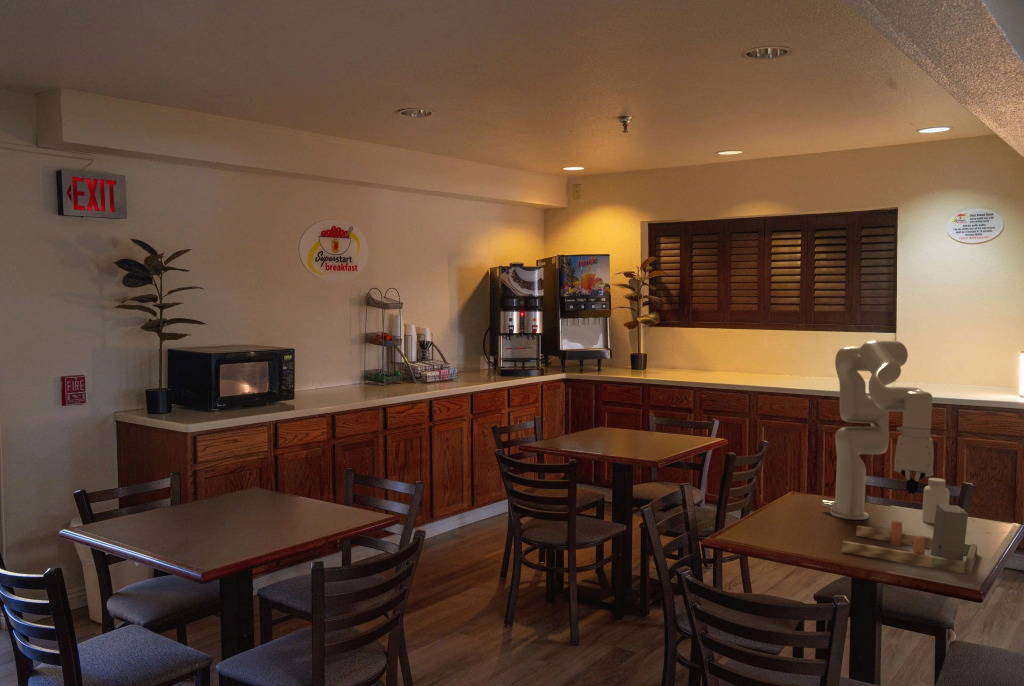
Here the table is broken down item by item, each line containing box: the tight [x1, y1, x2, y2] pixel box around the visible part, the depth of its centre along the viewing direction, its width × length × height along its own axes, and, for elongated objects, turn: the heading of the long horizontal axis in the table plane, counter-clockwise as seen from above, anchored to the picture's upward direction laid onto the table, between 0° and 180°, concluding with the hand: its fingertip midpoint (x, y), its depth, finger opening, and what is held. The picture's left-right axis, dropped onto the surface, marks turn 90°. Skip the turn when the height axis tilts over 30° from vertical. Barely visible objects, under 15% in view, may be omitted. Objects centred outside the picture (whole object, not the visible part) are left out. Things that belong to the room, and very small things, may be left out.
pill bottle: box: [921, 477, 951, 525], centre depth 277 cm, size 8×8×15 cm
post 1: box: [890, 520, 903, 547], centre depth 249 cm, size 3×3×7 cm
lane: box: [841, 525, 978, 576], centre depth 241 cm, size 34×23×3 cm
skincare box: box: [930, 504, 969, 561], centre depth 234 cm, size 8×7×16 cm
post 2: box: [912, 535, 926, 555], centre depth 232 cm, size 3×3×7 cm
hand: (911, 492), depth 240 cm, fingers closed
